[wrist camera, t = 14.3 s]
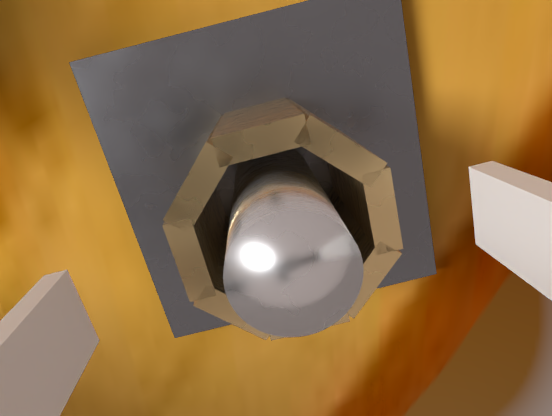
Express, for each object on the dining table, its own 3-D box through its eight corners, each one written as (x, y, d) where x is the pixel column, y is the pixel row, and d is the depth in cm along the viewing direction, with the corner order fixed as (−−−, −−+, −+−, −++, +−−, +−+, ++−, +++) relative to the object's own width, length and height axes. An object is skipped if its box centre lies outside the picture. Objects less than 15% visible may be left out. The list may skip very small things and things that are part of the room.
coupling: (221, 263, 24) (209, 355, 16) (177, 125, 21) (137, 157, 14) (359, 229, 24) (412, 305, 16) (331, 85, 21) (378, 94, 13)
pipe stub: (177, 328, 26) (122, 530, 15) (77, 62, 21) (-130, 55, 9) (429, 266, 26) (573, 423, 14) (391, -19, 21) (567, -127, 9)
